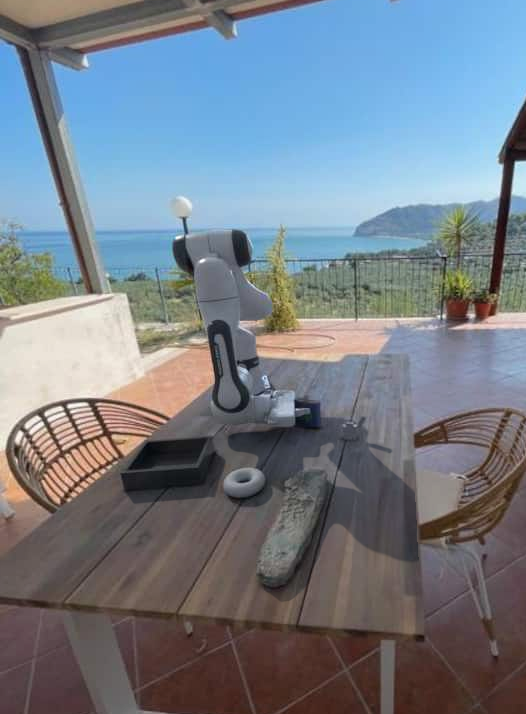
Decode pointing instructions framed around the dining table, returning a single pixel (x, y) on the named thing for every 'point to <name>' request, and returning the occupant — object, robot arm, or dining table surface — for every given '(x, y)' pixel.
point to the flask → (308, 419)
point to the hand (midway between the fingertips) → (310, 406)
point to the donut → (247, 489)
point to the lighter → (352, 428)
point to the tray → (168, 463)
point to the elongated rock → (292, 526)
